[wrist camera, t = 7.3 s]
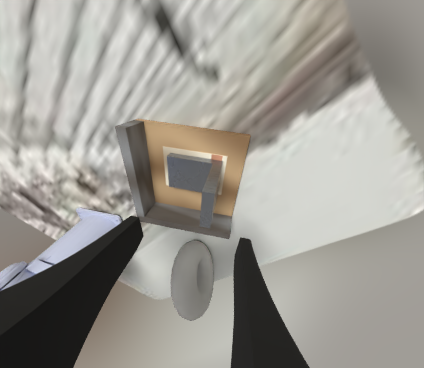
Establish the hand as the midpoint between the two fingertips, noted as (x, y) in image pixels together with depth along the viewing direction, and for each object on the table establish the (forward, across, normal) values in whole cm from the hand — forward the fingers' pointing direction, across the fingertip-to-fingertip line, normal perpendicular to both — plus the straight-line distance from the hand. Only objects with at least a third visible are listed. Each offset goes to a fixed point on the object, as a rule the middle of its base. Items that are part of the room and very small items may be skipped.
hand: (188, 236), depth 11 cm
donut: (+10, 0, +15) cm, 18 cm away
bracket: (+9, +2, 0) cm, 9 cm away
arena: (+9, +2, +1) cm, 10 cm away
